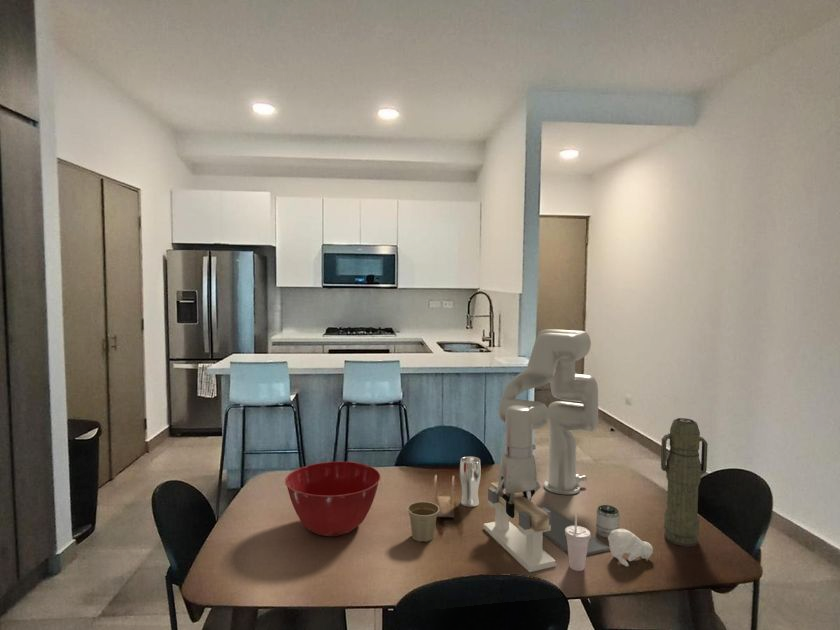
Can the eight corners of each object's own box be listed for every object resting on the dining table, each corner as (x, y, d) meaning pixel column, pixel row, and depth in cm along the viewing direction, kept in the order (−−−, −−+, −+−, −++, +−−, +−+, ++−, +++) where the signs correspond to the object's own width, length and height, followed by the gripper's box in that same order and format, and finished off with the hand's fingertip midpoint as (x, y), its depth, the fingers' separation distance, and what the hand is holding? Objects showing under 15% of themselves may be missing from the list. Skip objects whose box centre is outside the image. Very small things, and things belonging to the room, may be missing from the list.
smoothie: (560, 560, 137) (561, 509, 136) (583, 559, 137) (585, 509, 136) (569, 574, 130) (570, 521, 129) (593, 573, 131) (595, 520, 130)
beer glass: (480, 499, 175) (480, 456, 175) (480, 508, 169) (481, 463, 168) (459, 498, 176) (460, 455, 175) (459, 507, 169) (459, 462, 168)
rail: (502, 494, 156) (502, 481, 155) (548, 529, 133) (549, 514, 133) (490, 495, 154) (490, 482, 154) (535, 532, 132) (535, 517, 132)
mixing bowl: (333, 498, 176) (333, 454, 175) (399, 521, 159) (399, 472, 158) (266, 530, 153) (265, 480, 152) (334, 560, 136) (334, 504, 135)
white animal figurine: (606, 524, 139) (646, 525, 141) (603, 555, 139) (643, 555, 141) (619, 535, 133) (661, 536, 135) (616, 567, 133) (657, 567, 135)
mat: (546, 506, 170) (546, 503, 170) (609, 550, 142) (610, 547, 142) (515, 511, 166) (515, 509, 166) (574, 558, 138) (574, 555, 138)
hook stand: (506, 524, 157) (507, 481, 157) (555, 566, 134) (556, 516, 133) (483, 528, 155) (484, 484, 154) (529, 572, 131) (530, 521, 130)
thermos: (709, 547, 144) (714, 424, 142) (666, 545, 145) (670, 424, 143) (695, 532, 153) (699, 416, 151) (654, 530, 154) (658, 415, 151)
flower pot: (443, 532, 152) (443, 504, 152) (433, 547, 143) (433, 517, 143) (413, 527, 155) (413, 499, 155) (402, 542, 146) (402, 512, 146)
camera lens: (595, 536, 150) (596, 510, 150) (596, 527, 156) (597, 501, 155) (618, 540, 148) (619, 514, 147) (618, 530, 154) (619, 505, 153)
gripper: (536, 443, 149) (535, 504, 150) (485, 449, 143) (484, 513, 144) (551, 451, 142) (550, 515, 143) (498, 458, 136) (498, 525, 137)
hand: (517, 513), depth 144 cm, fingers closed on rail, 4 cm apart
